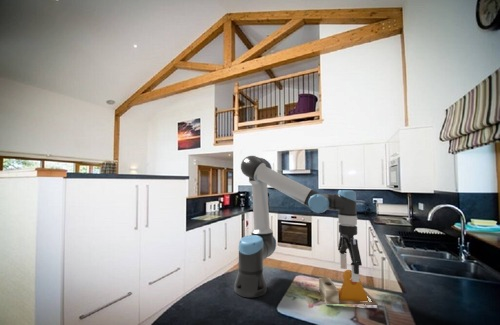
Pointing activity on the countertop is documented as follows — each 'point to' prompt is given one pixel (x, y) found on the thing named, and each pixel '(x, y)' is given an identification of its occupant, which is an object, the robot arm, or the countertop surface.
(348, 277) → the bracket
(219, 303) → the countertop surface
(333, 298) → the seat holder
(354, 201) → the robot arm
